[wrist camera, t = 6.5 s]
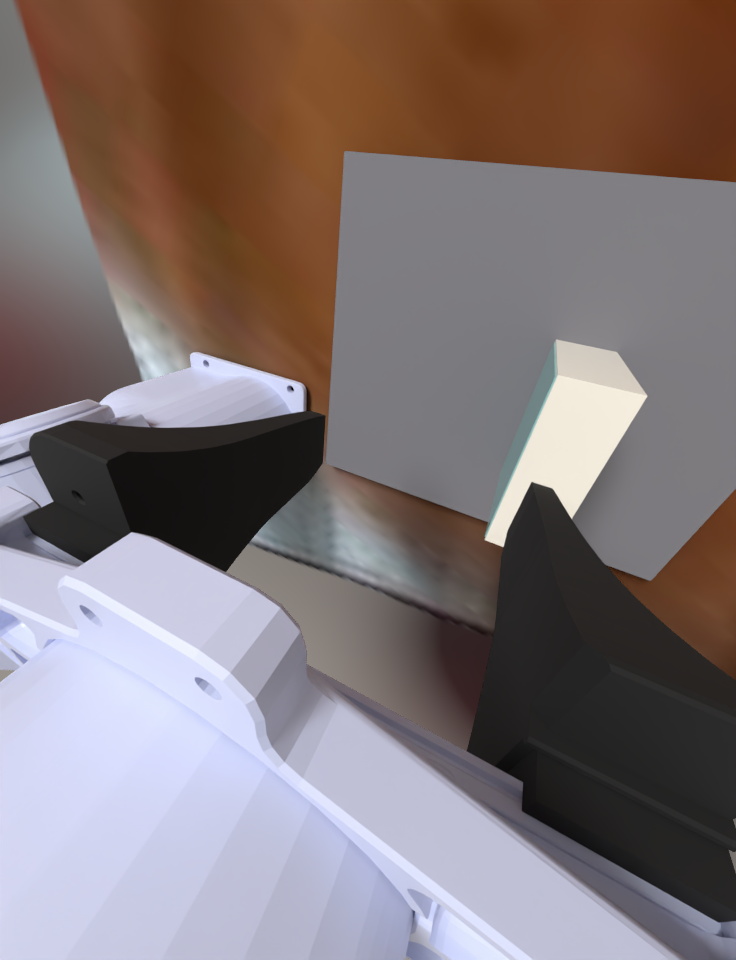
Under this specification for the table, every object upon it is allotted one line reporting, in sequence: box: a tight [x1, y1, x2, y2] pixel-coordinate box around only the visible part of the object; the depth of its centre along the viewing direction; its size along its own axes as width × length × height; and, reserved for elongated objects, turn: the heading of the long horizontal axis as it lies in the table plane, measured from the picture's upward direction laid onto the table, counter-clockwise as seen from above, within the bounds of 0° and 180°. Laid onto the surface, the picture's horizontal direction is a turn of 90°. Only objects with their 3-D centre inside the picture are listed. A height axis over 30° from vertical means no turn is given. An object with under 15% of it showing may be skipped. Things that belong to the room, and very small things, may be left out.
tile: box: [485, 339, 647, 547], centre depth 14 cm, size 2×7×6 cm, turn 172°
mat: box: [326, 151, 736, 581], centre depth 17 cm, size 20×16×1 cm
